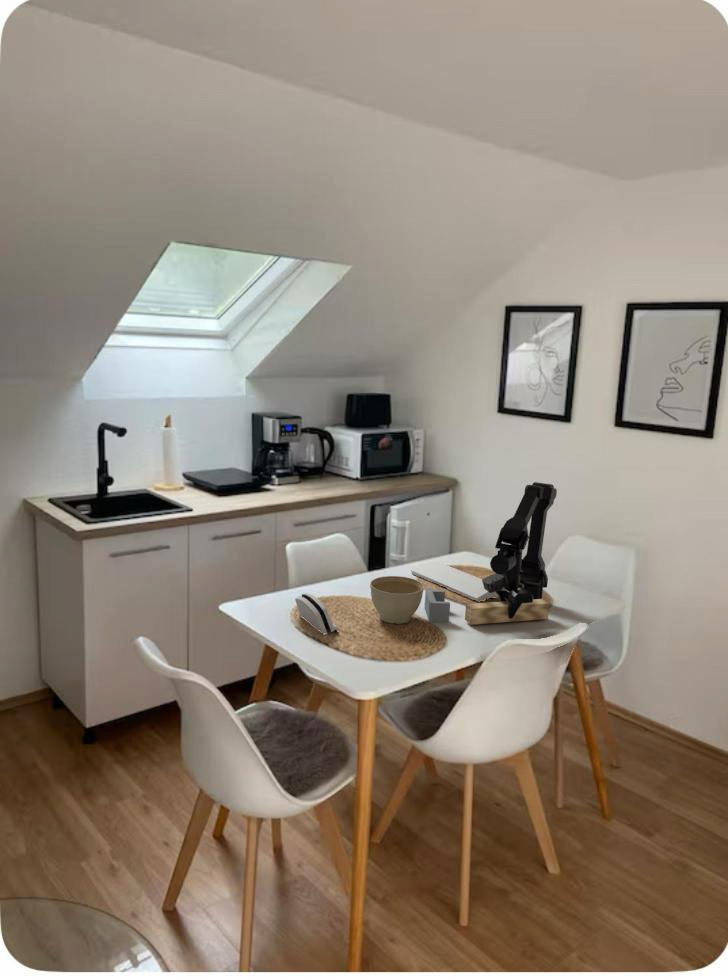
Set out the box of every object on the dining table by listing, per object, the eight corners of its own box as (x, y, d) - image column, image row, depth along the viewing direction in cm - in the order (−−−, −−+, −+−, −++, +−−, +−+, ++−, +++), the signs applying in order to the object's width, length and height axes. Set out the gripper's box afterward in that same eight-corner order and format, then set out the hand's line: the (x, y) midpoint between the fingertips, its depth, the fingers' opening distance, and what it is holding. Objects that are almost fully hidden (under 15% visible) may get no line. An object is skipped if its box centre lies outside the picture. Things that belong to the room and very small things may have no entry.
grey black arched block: (339, 632, 214) (330, 603, 210) (325, 640, 212) (315, 610, 209) (314, 613, 228) (305, 585, 225) (301, 620, 226) (291, 592, 223)
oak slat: (541, 614, 234) (543, 598, 233) (548, 618, 230) (549, 603, 229) (464, 619, 226) (465, 603, 225) (470, 624, 222) (471, 608, 221)
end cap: (443, 608, 237) (444, 590, 236) (448, 622, 225) (450, 603, 224) (424, 607, 237) (425, 589, 236) (429, 621, 225) (430, 602, 224)
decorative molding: (478, 611, 245) (500, 598, 250) (476, 598, 243) (498, 585, 248) (412, 581, 272) (433, 570, 277) (410, 569, 270) (431, 559, 275)
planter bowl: (360, 623, 222) (362, 588, 220) (378, 606, 237) (380, 573, 235) (413, 632, 217) (415, 596, 214) (428, 614, 231) (430, 580, 229)
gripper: (473, 558, 231) (469, 606, 234) (501, 577, 214) (497, 629, 217) (505, 556, 234) (502, 604, 237) (536, 575, 217) (531, 626, 220)
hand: (507, 615), depth 228 cm, fingers closed on oak slat, 4 cm apart
